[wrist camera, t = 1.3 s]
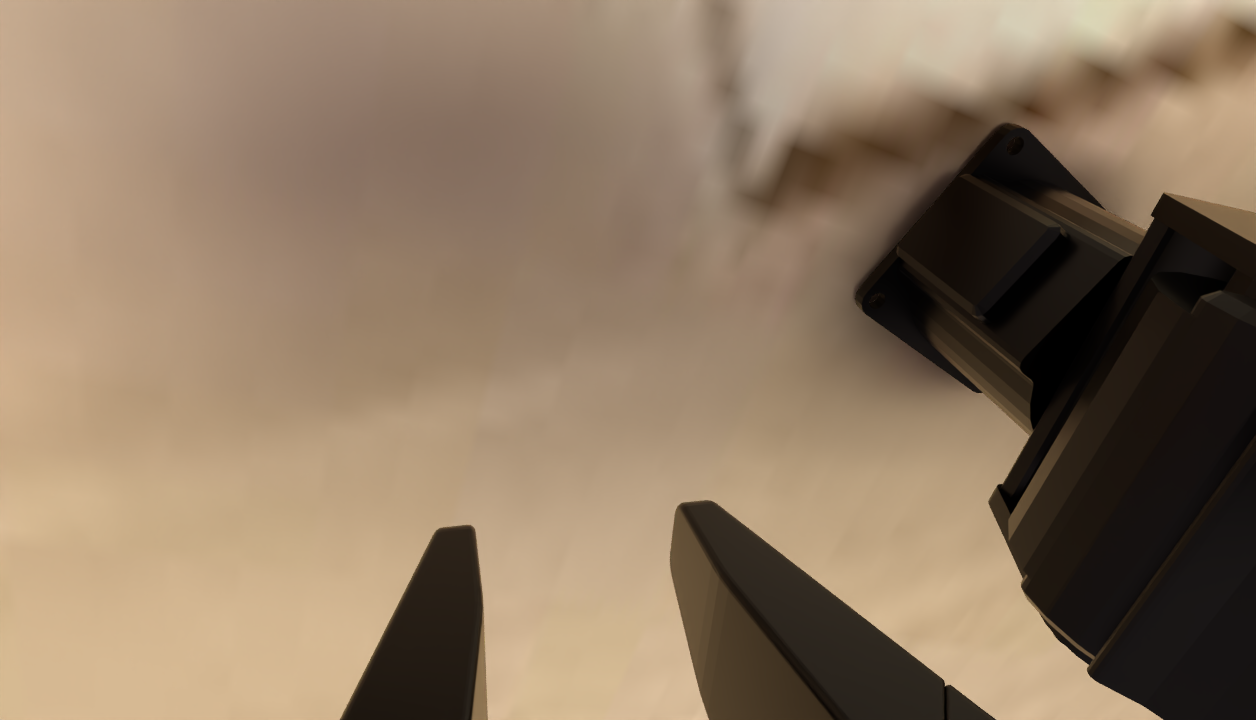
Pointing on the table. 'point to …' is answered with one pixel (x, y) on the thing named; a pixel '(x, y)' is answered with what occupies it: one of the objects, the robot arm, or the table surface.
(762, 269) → the table surface
